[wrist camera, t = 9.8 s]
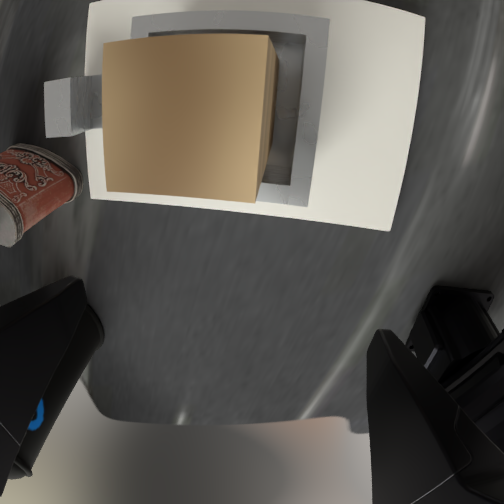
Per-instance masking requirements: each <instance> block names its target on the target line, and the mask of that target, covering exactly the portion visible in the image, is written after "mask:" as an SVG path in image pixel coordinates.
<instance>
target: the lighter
mask: <svg viewBox="0 0 504 504" xmlns="http://www.w3.org/2000/svg"><path fill="white" fill-rule="evenodd" d="M82 189H83V179H82V175H81V173H80V171H79V170H78V169H77V168H76V167H74V166H73V165H72V164H70V163H69V162H67V161H66V160H64V159H63V158H62V157H60V156H58V155H56V154H54V153H52V152H50V151H48V150H46V149H43V148H40V147H37V146H34V145H28V144H21V143H19V144H15V145H13V146H10V147H9V148H8V149H7V151H5V152H2V153H0V244H1V245H3V246H6V247H11V246H12V245H14V244H15V243H16V242H17V241H19V240H20V239H21V237H22V235H23V233H24V232H25V231H27V230H28V229H29V228H31V227H32V226H33V225H35V224H36V223H37V222H39V221H40V220H41V219H43V218H44V217H45V216H47V215H48V214H50V213H51V212H52V211H54V210H55V209H57V208H58V207H60V206H61V205H62V204H64V203H69V202H71V201H73V200H74V199H76V198H77V197H78V196H79V195H80V194H81V192H82Z"/></svg>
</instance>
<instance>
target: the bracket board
mask: <svg viewBox="0 0 504 504" xmlns="http://www.w3.org/2000/svg"><path fill="white" fill-rule="evenodd" d="M211 10H239V11H264V12H278V13H289V14H299V15H307V16H314V17H321V18H328V19H330V26H329V37H328V48H327V59H326V69H325V78H324V88H323V97H322V105H321V114H320V122H319V130H318V138H317V145H316V153H315V160H314V167H313V174H312V181H311V188H310V195H309V202H308V207H302V206H294V205H286V204H278V203H269V202H260V201H256V202H255V204H254V203H245V202H235V201H225V200H214V199H203V198H191V197H179V196H167V195H153V194H138V193H122V192H107V189H106V178H105V166H104V150H103V128H100V129H91V130H88V131H85V134H86V152H87V165H88V177H89V187H90V196H91V199H102V200H116V201H129V202H141V203H153V204H165V205H176V206H186V207H197V208H207V209H217V210H226V211H236V212H245V213H254V214H262V215H271V216H279V217H288V218H296V219H304V220H311V221H319V222H327V223H334V224H341V225H349V226H356V227H363V228H370V229H376V230H383V231H390V229H391V225H392V221H393V218H394V214H395V210H396V206H397V202H398V198H399V194H400V189H401V185H402V181H403V176H404V172H405V167H406V162H407V157H408V152H409V147H410V142H411V136H412V131H413V125H414V119H415V113H416V106H417V99H418V92H419V84H420V76H421V67H422V57H423V46H424V32H425V17H423V16H419V15H416V14H413V13H410V12H407V11H403V10H400V9H397V8H393V7H389V6H386V5H382V4H378V3H374V2H369V1H365V0H102V1H98V2H93V3H90V4H89V13H88V24H87V36H86V53H85V76H92V75H100V74H102V62H103V43H108V42H114V41H121V40H128V39H130V36H131V23H132V17H136V16H143V15H152V14H161V13H172V12H186V11H211Z"/></svg>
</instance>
